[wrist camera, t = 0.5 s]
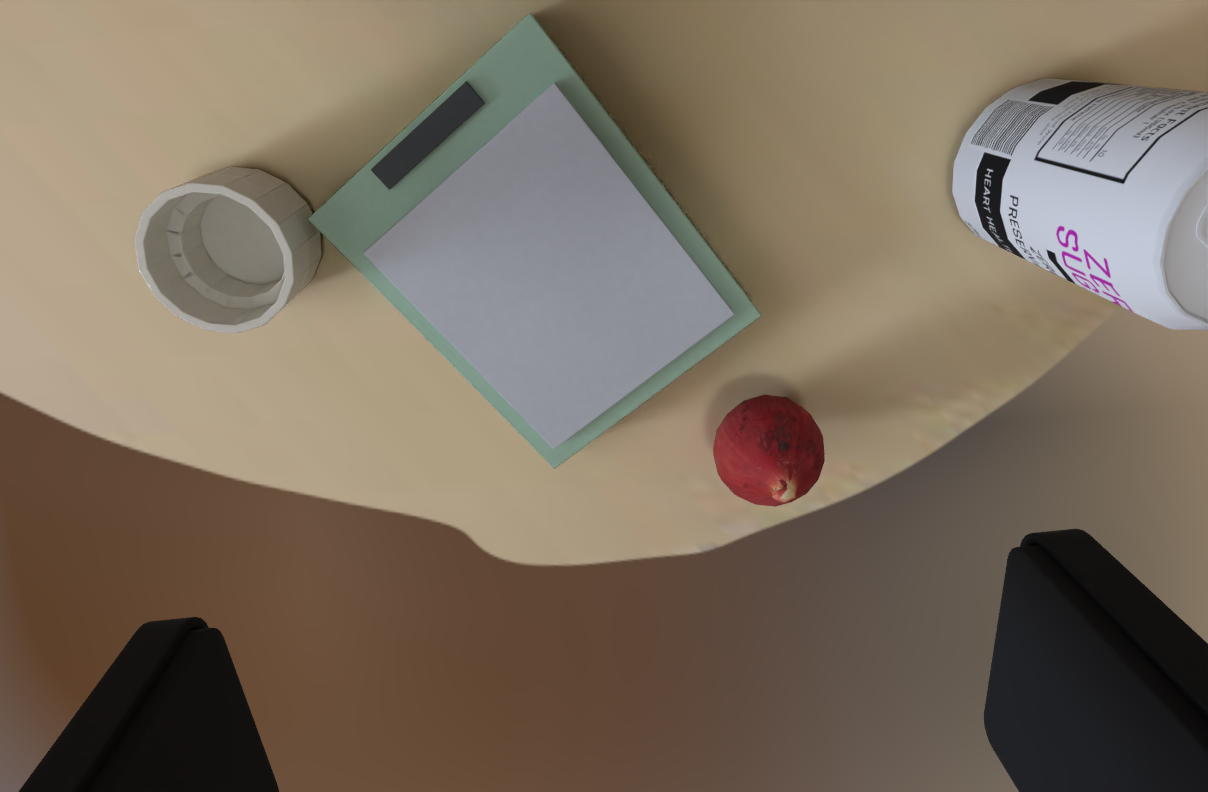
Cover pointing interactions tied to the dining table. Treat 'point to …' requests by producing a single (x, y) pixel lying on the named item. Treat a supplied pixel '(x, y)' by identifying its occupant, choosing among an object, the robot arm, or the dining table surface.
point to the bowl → (228, 248)
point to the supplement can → (1097, 190)
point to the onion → (769, 450)
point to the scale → (536, 248)
